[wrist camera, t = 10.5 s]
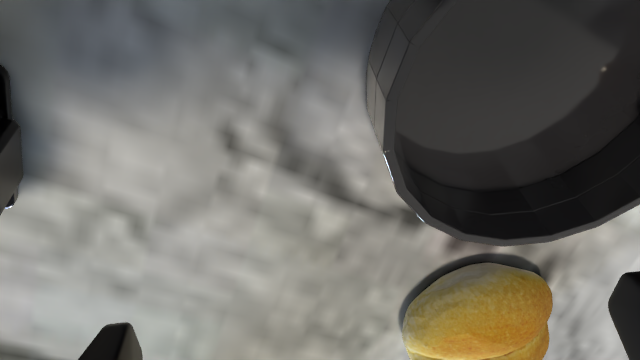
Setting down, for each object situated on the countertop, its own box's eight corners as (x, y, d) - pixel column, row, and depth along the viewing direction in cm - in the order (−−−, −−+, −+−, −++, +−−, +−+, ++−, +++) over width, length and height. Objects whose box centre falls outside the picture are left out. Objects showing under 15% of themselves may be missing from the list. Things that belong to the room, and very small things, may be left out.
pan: (325, 168, 22) (336, 222, 19) (449, -174, 15) (493, -166, 12) (568, 211, 25) (606, 262, 23) (765, -54, 18) (857, -26, 15)
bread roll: (543, 240, 26) (583, 300, 23) (533, 337, 32) (564, 397, 29) (389, 274, 27) (407, 338, 24) (405, 365, 32) (422, 427, 29)
